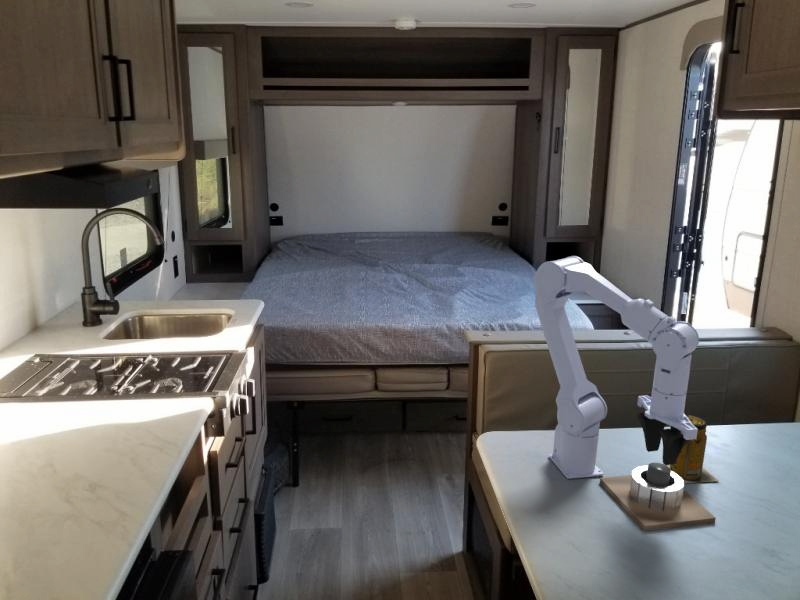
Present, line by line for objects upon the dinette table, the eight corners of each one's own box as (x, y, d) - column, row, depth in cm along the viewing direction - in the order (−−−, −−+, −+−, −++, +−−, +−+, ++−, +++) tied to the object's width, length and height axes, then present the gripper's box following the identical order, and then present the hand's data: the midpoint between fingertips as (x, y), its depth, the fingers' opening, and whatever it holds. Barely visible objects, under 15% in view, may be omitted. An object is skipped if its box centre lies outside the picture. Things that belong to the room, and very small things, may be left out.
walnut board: (599, 482, 127) (600, 478, 127) (663, 476, 129) (663, 471, 129) (644, 530, 112) (644, 525, 111) (714, 522, 114) (715, 517, 114)
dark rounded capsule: (641, 498, 120) (646, 469, 118) (645, 488, 123) (649, 460, 121) (664, 504, 118) (669, 476, 116) (667, 494, 121) (672, 466, 120)
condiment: (661, 465, 134) (668, 413, 131) (699, 464, 135) (707, 412, 131) (679, 484, 127) (686, 429, 124) (719, 482, 128) (728, 428, 124)
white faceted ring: (620, 486, 124) (623, 467, 123) (662, 482, 125) (665, 463, 124) (646, 513, 115) (649, 493, 114) (691, 508, 117) (694, 488, 116)
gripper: (626, 376, 120) (619, 440, 124) (676, 408, 107) (666, 479, 110) (659, 373, 122) (651, 437, 126) (712, 404, 108) (701, 475, 112)
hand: (660, 457), depth 118 cm, fingers open, 4 cm apart
